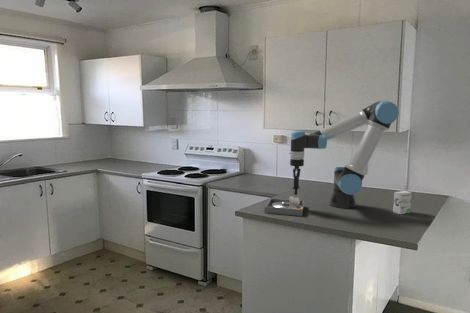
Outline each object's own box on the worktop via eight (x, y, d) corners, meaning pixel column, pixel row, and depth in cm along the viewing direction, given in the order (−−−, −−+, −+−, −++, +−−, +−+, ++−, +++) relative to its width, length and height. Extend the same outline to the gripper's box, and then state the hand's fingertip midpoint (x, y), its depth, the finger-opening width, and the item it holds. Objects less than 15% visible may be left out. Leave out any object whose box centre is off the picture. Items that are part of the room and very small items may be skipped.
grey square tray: (304, 206, 217) (304, 200, 216) (301, 216, 197) (302, 209, 197) (269, 203, 221) (270, 197, 221) (264, 212, 202) (264, 206, 201)
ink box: (403, 210, 213) (404, 190, 212) (410, 212, 209) (412, 192, 207) (392, 212, 209) (394, 191, 208) (399, 214, 205) (401, 193, 203)
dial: (267, 207, 206) (267, 195, 205) (278, 202, 219) (278, 190, 218) (293, 212, 199) (294, 199, 198) (303, 206, 212) (303, 194, 211)
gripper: (291, 156, 215) (289, 196, 218) (289, 160, 202) (288, 202, 206) (304, 157, 213) (302, 197, 217) (303, 160, 201) (302, 203, 204)
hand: (295, 199), depth 211 cm, fingers closed
